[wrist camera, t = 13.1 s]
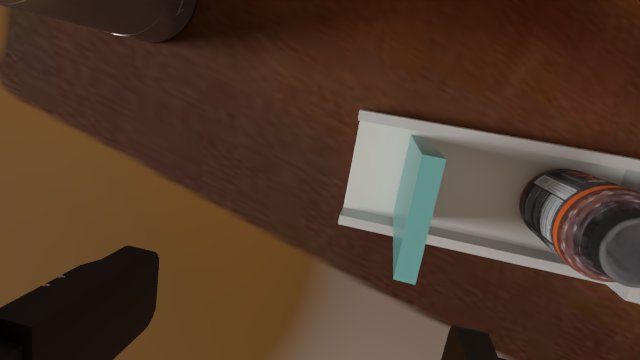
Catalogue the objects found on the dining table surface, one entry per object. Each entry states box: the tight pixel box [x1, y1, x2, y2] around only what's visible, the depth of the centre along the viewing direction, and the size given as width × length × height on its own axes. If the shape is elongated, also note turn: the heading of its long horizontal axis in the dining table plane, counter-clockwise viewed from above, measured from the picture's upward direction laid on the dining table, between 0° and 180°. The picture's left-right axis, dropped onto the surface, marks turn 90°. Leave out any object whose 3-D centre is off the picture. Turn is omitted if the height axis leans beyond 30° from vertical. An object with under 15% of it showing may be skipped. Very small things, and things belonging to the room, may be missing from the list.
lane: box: [338, 109, 640, 304], centre depth 30 cm, size 22×10×6 cm, turn 81°
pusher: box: [393, 135, 446, 284], centre depth 26 cm, size 1×7×13 cm, turn 170°
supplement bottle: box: [519, 169, 640, 288], centre depth 26 cm, size 6×6×11 cm
